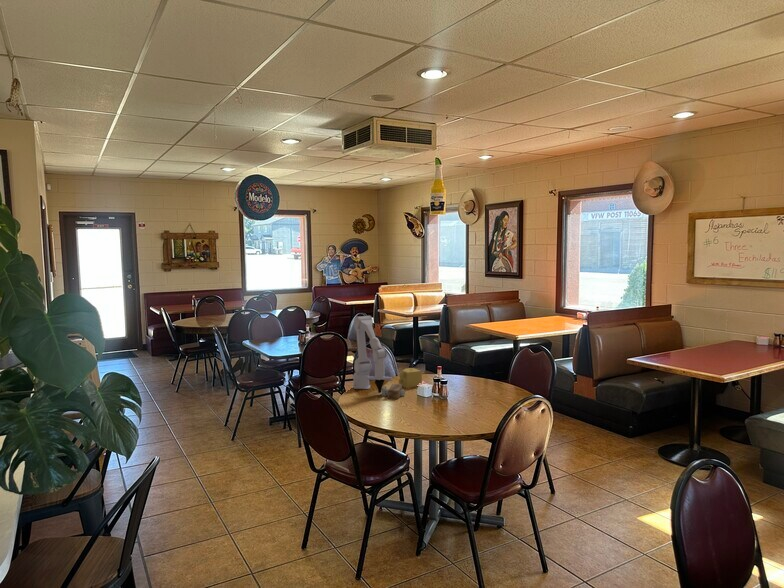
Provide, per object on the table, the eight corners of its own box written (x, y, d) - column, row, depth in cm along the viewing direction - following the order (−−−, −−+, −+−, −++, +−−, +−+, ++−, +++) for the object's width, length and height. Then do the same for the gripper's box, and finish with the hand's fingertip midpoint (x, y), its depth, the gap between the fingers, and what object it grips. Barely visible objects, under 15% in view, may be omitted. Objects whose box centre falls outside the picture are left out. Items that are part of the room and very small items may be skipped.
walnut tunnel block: (388, 398, 307) (388, 390, 306) (392, 392, 321) (392, 384, 320) (398, 399, 306) (398, 390, 305) (402, 392, 320) (402, 384, 319)
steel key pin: (381, 396, 312) (381, 389, 311) (382, 393, 317) (382, 386, 317) (404, 396, 310) (404, 389, 310) (405, 394, 316) (405, 386, 316)
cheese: (398, 384, 337) (398, 369, 336) (413, 382, 342) (413, 367, 341) (407, 388, 328) (407, 372, 327) (422, 386, 333) (422, 370, 332)
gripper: (365, 370, 310) (366, 393, 312) (390, 371, 308) (391, 394, 309) (368, 367, 317) (368, 390, 319) (392, 368, 315) (393, 391, 316)
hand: (379, 392), depth 314 cm, fingers closed
